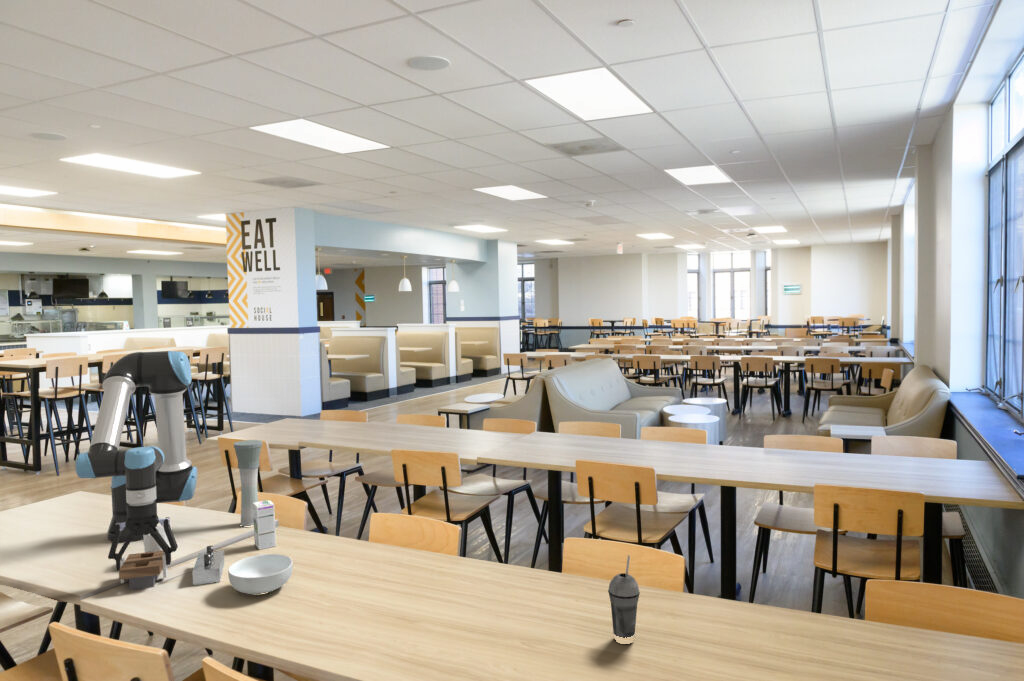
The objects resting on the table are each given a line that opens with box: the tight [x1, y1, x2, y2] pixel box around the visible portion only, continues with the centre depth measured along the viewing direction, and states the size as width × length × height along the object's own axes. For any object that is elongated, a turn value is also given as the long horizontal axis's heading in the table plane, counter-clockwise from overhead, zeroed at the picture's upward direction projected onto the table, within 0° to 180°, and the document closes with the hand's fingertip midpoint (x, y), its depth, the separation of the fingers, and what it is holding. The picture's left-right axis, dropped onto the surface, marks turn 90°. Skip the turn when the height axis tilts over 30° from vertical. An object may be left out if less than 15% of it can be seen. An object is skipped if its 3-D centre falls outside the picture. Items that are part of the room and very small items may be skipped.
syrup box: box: [253, 499, 277, 551], centre depth 219 cm, size 6×6×14 cm
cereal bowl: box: [227, 553, 294, 595], centre depth 185 cm, size 17×17×7 cm
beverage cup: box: [607, 554, 641, 638], centre depth 154 cm, size 7×7×20 cm
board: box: [118, 551, 164, 581], centre depth 190 cm, size 13×10×2 cm
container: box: [233, 439, 263, 526], centre depth 241 cm, size 10×10×30 cm
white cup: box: [143, 525, 173, 553], centre depth 206 cm, size 8×8×10 cm
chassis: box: [192, 545, 225, 586], centre depth 196 cm, size 15×7×7 cm, turn 19°
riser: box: [128, 575, 160, 591], centre depth 191 cm, size 9×6×4 cm, turn 19°
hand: (144, 578), depth 191 cm, fingers closed on board, 10 cm apart
